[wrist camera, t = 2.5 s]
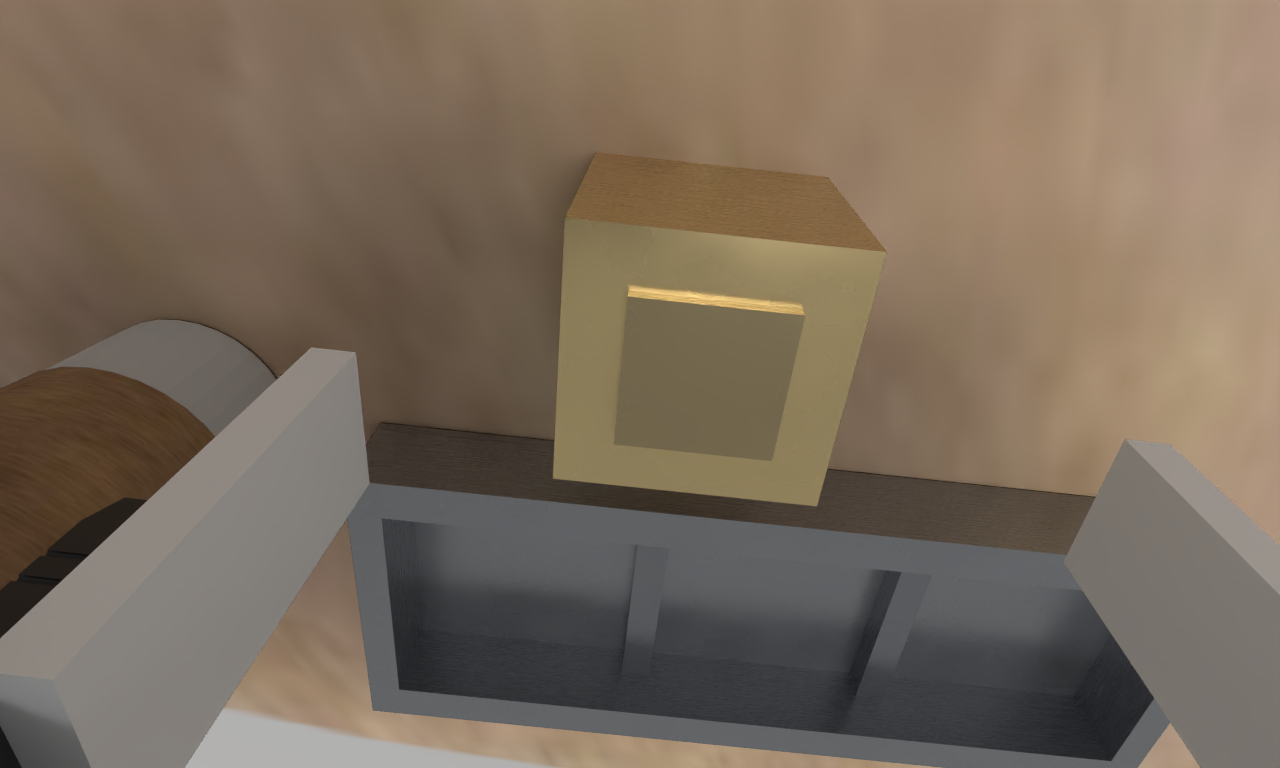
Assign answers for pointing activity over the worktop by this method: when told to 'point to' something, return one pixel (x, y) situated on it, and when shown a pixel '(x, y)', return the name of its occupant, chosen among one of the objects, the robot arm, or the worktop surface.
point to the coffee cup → (113, 427)
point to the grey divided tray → (738, 611)
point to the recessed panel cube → (708, 328)
